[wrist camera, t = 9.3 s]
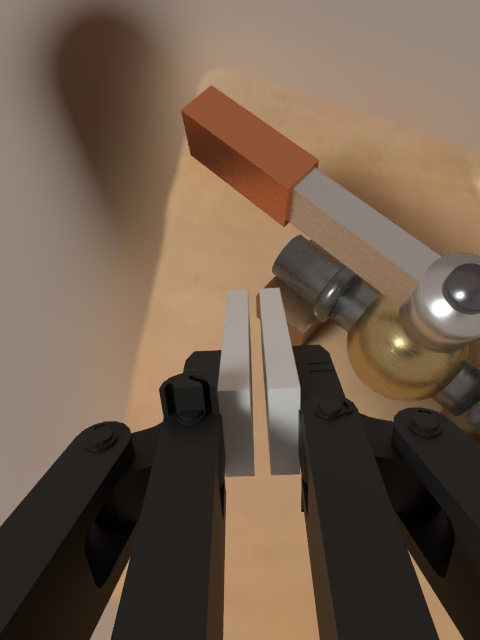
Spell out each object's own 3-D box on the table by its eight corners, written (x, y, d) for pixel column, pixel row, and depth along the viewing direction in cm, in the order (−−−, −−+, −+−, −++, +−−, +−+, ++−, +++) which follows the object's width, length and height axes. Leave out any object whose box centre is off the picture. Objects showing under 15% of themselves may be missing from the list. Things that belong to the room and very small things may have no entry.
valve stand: (518, 417, 28) (650, 392, 18) (464, 495, 26) (576, 511, 17) (310, 260, 32) (330, 176, 23) (253, 319, 31) (251, 256, 22)
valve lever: (489, 316, 20) (540, 283, 16) (446, 369, 19) (488, 347, 16) (225, 125, 24) (219, 67, 21) (182, 162, 24) (168, 108, 20)
